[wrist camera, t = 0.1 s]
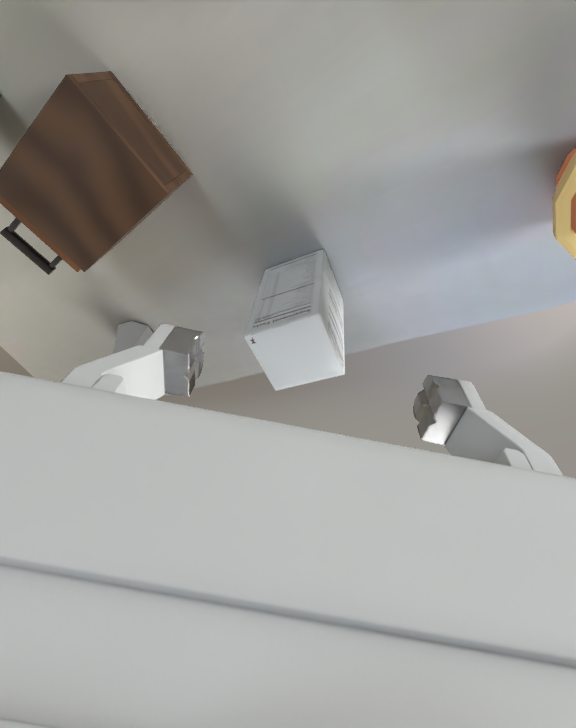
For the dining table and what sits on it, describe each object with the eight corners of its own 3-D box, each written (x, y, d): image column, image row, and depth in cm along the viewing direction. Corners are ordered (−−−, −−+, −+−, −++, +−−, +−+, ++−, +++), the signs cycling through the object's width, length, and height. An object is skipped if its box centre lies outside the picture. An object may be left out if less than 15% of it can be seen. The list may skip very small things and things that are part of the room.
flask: (126, 352, 67) (98, 390, 60) (112, 319, 63) (80, 356, 55) (163, 354, 66) (140, 392, 59) (152, 320, 62) (125, 358, 54)
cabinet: (115, 245, 54) (84, 272, 47) (36, 167, 48) (-12, 185, 41) (192, 174, 46) (168, 194, 40) (110, 70, 40) (66, 74, 34)
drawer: (81, 271, 56) (54, 293, 51) (10, 207, 51) (-27, 224, 45) (172, 185, 46) (151, 202, 41) (96, 95, 41) (61, 101, 36)
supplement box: (287, 319, 59) (272, 393, 46) (263, 269, 53) (238, 336, 41) (345, 302, 55) (346, 376, 43) (325, 246, 50) (320, 312, 37)
